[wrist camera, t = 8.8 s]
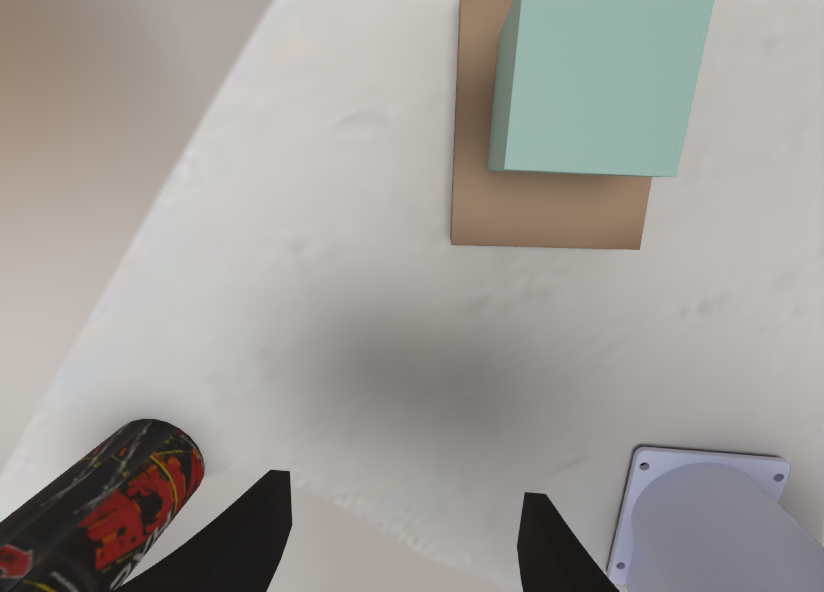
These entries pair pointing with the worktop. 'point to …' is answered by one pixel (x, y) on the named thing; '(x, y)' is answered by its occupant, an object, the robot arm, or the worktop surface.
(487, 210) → the walnut block
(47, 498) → the deodorant
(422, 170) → the worktop surface
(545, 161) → the sage cube
